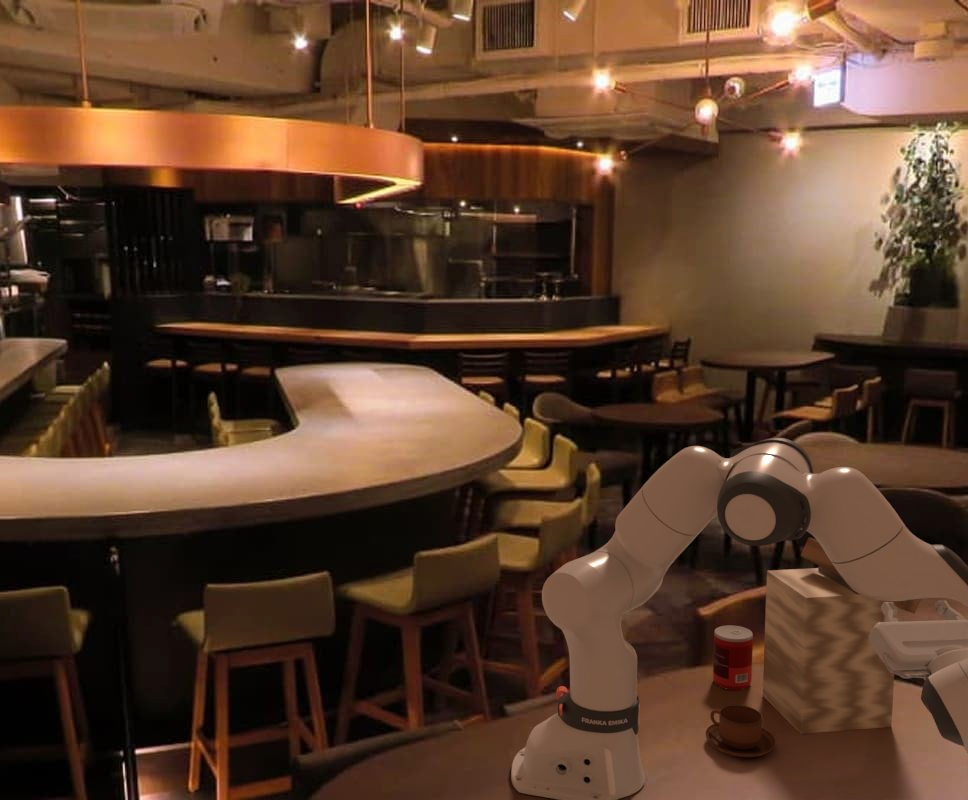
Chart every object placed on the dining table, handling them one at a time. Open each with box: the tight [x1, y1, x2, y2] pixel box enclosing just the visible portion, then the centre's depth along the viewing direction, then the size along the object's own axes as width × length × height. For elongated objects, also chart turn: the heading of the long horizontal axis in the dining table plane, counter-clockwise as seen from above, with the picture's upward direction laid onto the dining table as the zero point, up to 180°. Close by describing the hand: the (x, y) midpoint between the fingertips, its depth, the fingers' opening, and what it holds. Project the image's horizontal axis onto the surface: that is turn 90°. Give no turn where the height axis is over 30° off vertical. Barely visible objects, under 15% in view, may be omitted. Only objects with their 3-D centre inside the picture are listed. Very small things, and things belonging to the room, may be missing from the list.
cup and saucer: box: [705, 704, 776, 758], centre depth 165 cm, size 12×12×6 cm
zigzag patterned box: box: [762, 565, 899, 735], centre depth 177 cm, size 18×16×27 cm
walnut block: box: [800, 537, 923, 615], centre depth 170 cm, size 4×24×4 cm, turn 27°
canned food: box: [712, 624, 754, 691], centre depth 190 cm, size 8×8×11 cm
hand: (912, 603), depth 150 cm, fingers open, 8 cm apart
